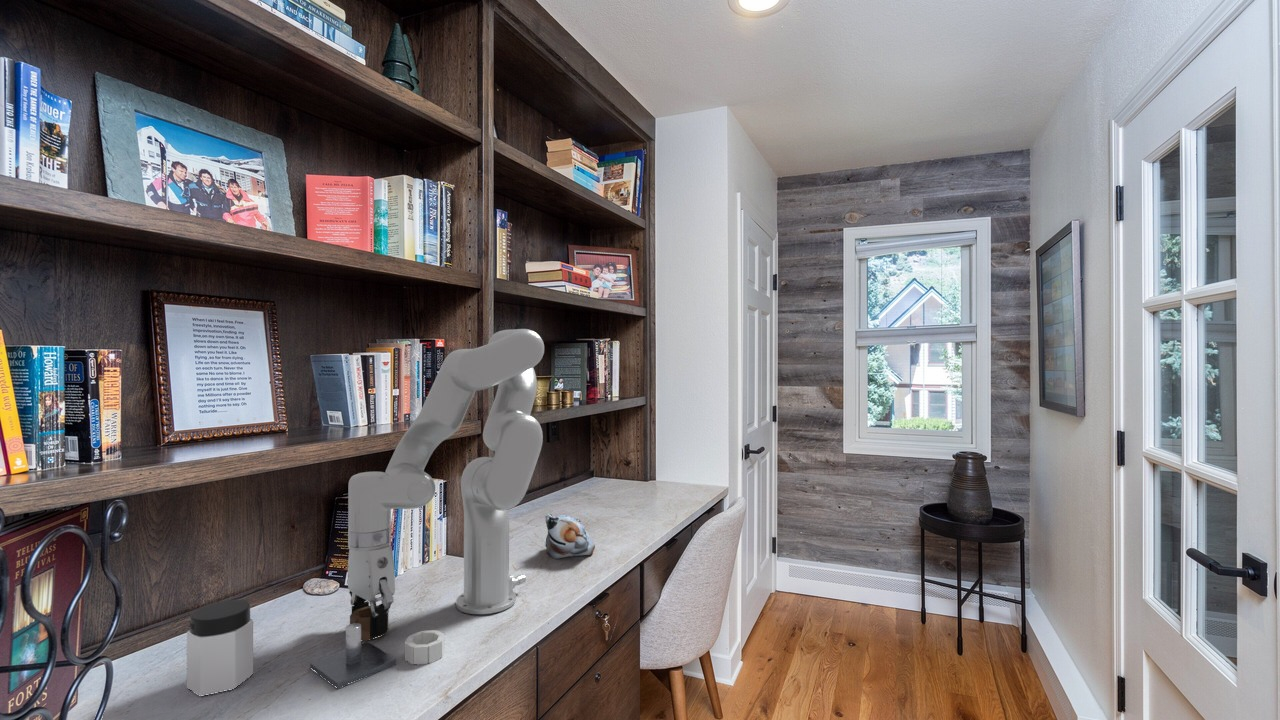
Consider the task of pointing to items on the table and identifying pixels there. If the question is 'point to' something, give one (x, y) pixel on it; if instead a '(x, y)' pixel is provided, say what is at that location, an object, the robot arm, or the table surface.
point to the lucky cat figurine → (567, 537)
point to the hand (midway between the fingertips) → (369, 628)
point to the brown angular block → (363, 621)
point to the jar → (219, 647)
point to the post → (353, 660)
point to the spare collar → (424, 647)
